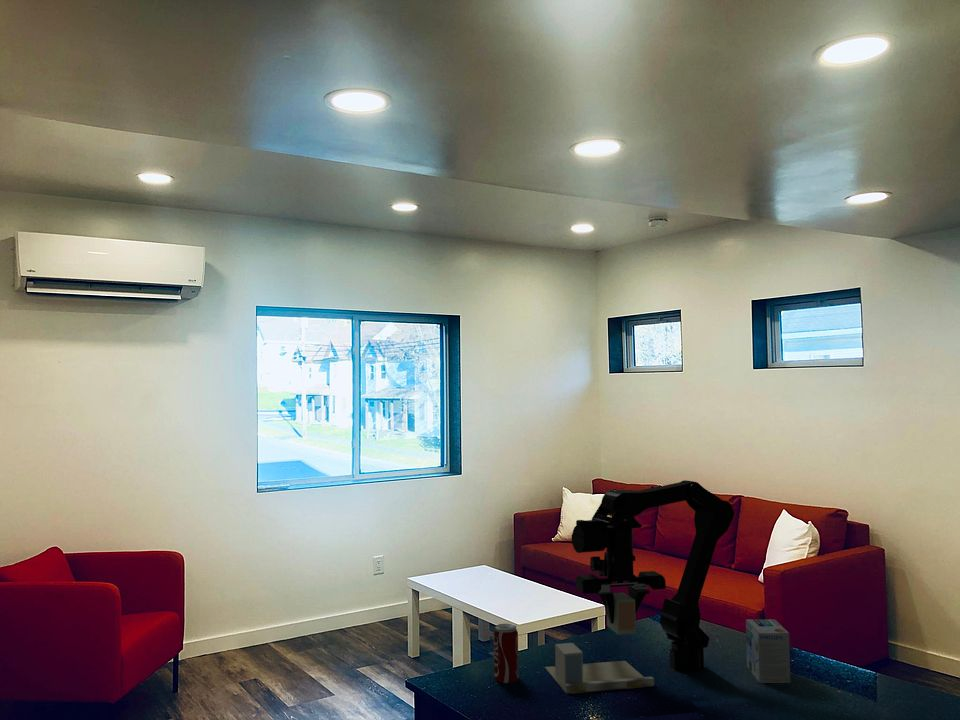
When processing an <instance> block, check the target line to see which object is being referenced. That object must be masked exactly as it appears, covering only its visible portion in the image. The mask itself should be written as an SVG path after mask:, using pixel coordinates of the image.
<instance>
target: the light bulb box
mask: <svg viewBox="0 0 960 720" xmlns="http://www.w3.org/2000/svg"><path fill="white" fill-rule="evenodd" d="M745 631H746V633H745V634H746V637H745V638H746V639H745V640H746V667H747V668H748V671H750V673H751V674H752V675H753V676H755V677H754V678H755V680H756V681H757V680H758V681H759V682H761V683H762V684H763V683H791V656H790V633H789V631H787V630H786V629H785V628H784V626H782V625H781V624H780V623H779V622H778V621H777V620H776V619H771V618H770V619H745ZM758 681H757V682H758ZM759 682H758V683H759ZM761 683H760V684H761Z"/></svg>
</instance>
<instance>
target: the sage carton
mask: <svg viewBox="0 0 960 720" xmlns="http://www.w3.org/2000/svg"><path fill="white" fill-rule="evenodd" d="M612 593H613V594H614V622H613V624H611V623H610V621H609V618H608V615H607V614H606V626H607V627H608V628H609V629H610V630H612V631H613V633H615V634H616V635H618V636H619V635H630V634H631V635H632V634H636V633H637V631H636V630H637V625H636V615H635V599H633V598H631V597H630V596H629V594H626V593H625V592H612Z"/></svg>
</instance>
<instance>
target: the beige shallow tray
mask: <svg viewBox="0 0 960 720" xmlns="http://www.w3.org/2000/svg"><path fill="white" fill-rule="evenodd" d="M544 668H545V669H546V670H547V672H548V673H549V675H550V676H552V678H553V679H554V680H555V681H556V682H557V684H558V685H559V686H560V688H561V689H562V690H563V692H564V693H565V694H580V693H581V694H584V693H589V692H592V693H593V692H600V691H601V692H604V691H615V690H622V689H625V690H626V689H629V690H631V689H638V688H639V689H640V688H646V687H647V688H648V687H655V678H654V677H653V676H643V675H642V674H641V673H640V672H639V671H638V670H637V669H635V668H634V667H633V666H632V665H631V664H629V663H628V662H627V661H626V660H617V661H606V662H603V661H602V662H591V663H583V682H580V683H568V684H565V688H564V687H563V686H562V684H561V683H560V682H559V681H558V679H557V678H556V665H553V666H545V667H544Z"/></svg>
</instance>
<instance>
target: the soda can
mask: <svg viewBox="0 0 960 720" xmlns="http://www.w3.org/2000/svg"><path fill="white" fill-rule="evenodd" d="M518 632H519V631H518V630H517V626H516V625H515V624H513V623H499V624H496V625H495V629H494V631H493V670H494V671H493V675H494V676H493V680H494V681H496V682H498V683H502V684H510V683H512V684H513V683H516V682H517V681H518V680H519V633H518Z"/></svg>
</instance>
